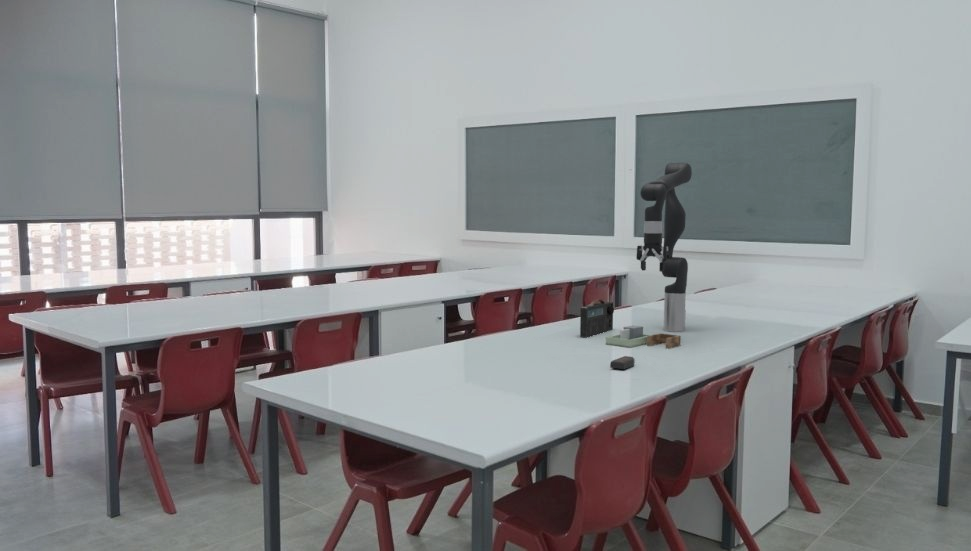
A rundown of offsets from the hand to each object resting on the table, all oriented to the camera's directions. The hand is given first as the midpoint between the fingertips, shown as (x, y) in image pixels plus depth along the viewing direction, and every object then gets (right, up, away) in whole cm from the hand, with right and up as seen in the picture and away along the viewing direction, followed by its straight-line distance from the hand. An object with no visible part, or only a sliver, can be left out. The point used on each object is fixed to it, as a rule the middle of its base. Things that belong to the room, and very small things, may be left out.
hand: (652, 270), depth 331 cm
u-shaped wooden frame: (+3, -31, -9) cm, 32 cm away
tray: (-10, -30, -4) cm, 32 cm away
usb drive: (-21, -34, -50) cm, 64 cm away
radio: (-20, -28, +21) cm, 40 cm away
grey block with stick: (-10, -29, -4) cm, 32 cm away
